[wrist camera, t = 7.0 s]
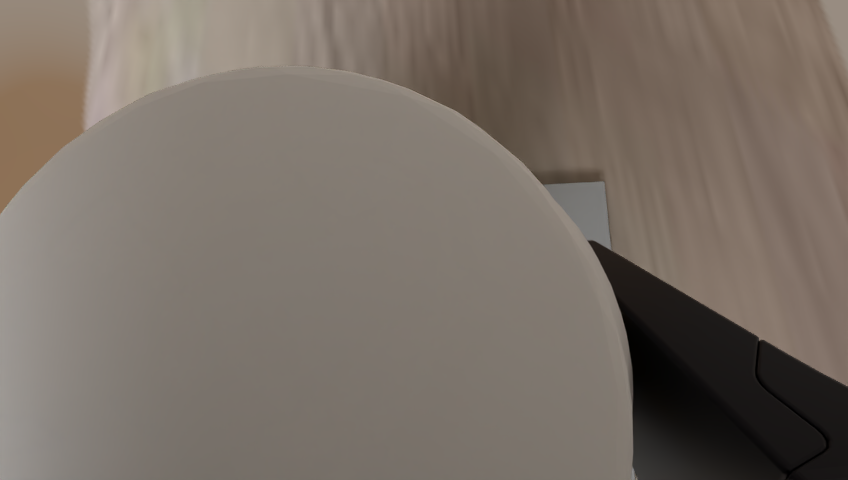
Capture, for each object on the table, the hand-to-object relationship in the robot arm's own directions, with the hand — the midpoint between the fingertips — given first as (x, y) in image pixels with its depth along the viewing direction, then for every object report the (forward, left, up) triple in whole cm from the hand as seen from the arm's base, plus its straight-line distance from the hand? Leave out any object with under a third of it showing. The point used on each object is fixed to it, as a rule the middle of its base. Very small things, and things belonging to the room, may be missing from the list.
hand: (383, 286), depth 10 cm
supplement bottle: (0, -1, -7) cm, 7 cm away
